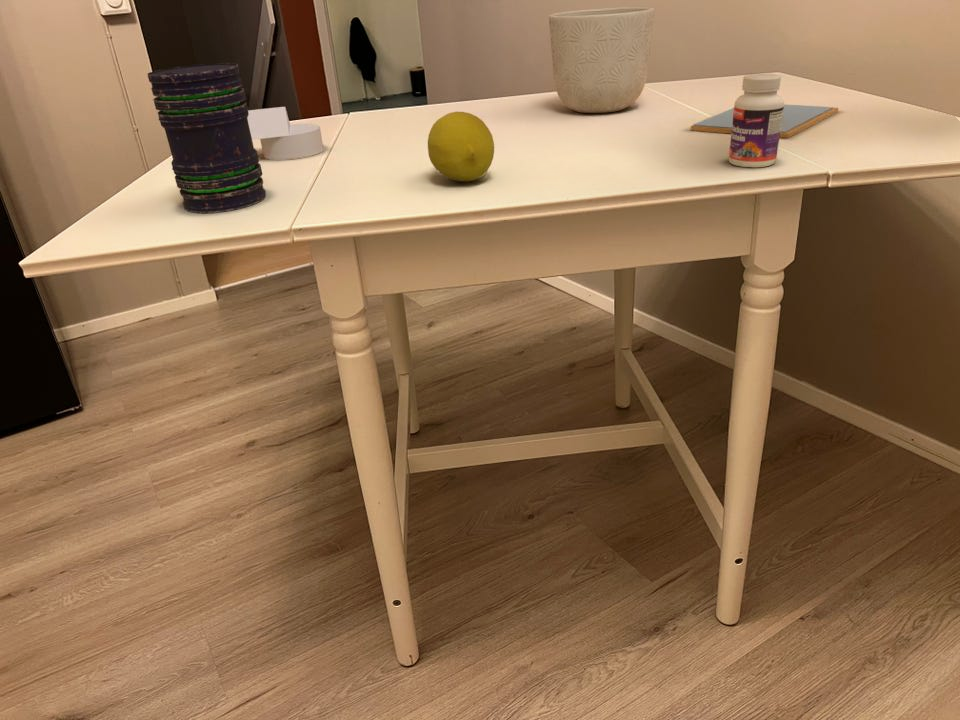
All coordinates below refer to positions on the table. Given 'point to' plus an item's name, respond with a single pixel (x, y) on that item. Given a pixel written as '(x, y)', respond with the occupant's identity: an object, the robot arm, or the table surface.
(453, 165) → the lemon
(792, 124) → the board
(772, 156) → the pill bottle
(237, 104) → the storage jar
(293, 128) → the wedge on round base
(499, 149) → the table surface
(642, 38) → the planter
